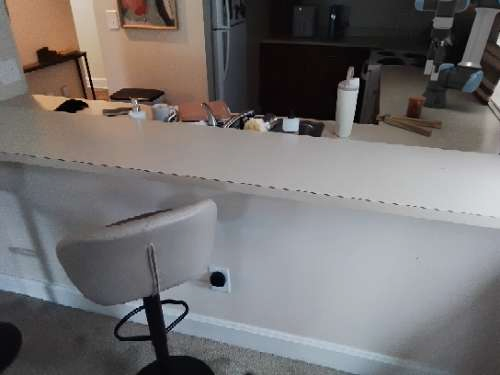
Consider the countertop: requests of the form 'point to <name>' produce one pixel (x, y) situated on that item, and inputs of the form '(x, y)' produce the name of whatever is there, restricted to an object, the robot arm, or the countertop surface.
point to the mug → (415, 106)
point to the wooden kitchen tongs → (403, 124)
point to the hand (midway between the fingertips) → (430, 77)
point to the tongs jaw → (420, 121)
